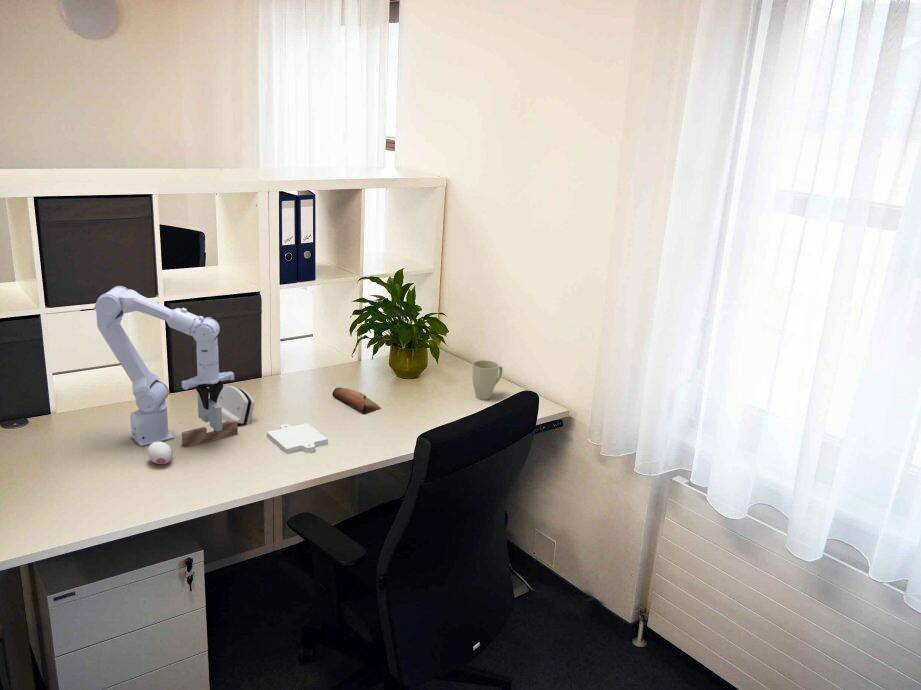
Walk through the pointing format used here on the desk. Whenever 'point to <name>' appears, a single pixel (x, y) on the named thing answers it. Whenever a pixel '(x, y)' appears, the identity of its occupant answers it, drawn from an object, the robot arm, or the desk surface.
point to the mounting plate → (297, 438)
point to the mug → (485, 378)
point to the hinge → (235, 404)
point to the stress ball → (159, 453)
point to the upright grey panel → (211, 414)
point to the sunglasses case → (356, 400)
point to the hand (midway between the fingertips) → (209, 407)
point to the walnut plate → (208, 434)
